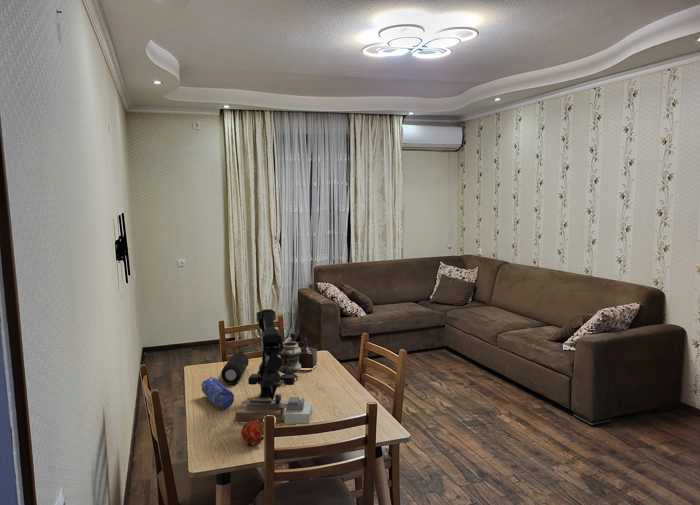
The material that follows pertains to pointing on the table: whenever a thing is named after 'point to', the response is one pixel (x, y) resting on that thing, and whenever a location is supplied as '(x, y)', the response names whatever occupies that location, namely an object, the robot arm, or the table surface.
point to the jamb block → (298, 411)
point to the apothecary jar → (290, 358)
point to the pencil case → (217, 393)
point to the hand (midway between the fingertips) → (272, 399)
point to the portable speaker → (234, 368)
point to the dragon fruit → (252, 432)
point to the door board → (258, 411)
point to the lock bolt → (278, 401)
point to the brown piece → (306, 354)
